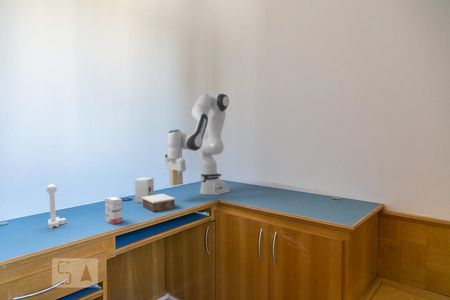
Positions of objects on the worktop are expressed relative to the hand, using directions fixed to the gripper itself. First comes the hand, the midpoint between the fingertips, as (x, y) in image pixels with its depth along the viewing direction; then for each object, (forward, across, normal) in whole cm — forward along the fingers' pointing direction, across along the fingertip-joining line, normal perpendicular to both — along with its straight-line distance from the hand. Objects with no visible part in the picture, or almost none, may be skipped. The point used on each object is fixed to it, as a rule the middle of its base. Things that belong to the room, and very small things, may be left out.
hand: (176, 177), depth 185 cm
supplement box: (+16, +14, +16) cm, 26 cm away
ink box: (+15, -16, +45) cm, 50 cm away
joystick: (+14, -2, +68) cm, 69 cm away
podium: (+15, -6, +16) cm, 23 cm away
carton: (+5, 0, 0) cm, 5 cm away
